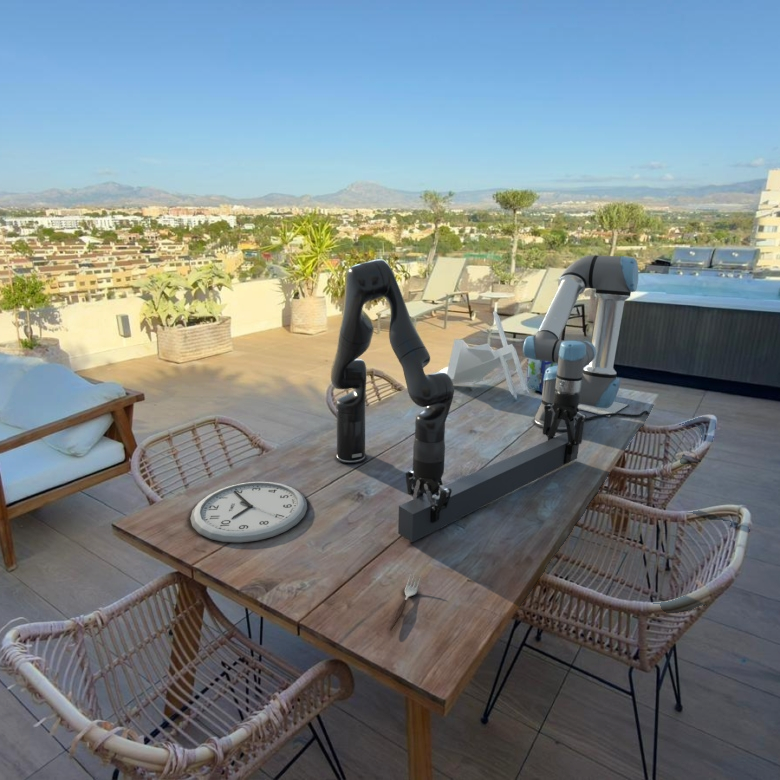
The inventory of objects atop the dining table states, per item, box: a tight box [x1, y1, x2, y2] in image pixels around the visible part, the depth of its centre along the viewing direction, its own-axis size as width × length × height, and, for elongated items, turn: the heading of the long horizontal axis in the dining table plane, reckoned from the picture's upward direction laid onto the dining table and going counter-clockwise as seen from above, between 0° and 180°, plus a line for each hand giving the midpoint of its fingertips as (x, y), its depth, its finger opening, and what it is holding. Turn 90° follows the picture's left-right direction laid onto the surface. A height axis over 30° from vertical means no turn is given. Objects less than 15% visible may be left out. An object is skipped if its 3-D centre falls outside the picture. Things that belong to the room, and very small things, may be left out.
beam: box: [397, 431, 580, 543], centre depth 149 cm, size 75×5×8 cm, turn 131°
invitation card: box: [578, 401, 629, 418], centre depth 226 cm, size 21×1×15 cm
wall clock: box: [190, 481, 308, 544], centre depth 139 cm, size 30×2×30 cm
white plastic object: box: [438, 310, 531, 400], centre depth 245 cm, size 37×45×31 cm
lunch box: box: [526, 358, 558, 394], centre depth 248 cm, size 26×11×21 cm, turn 135°
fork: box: [389, 573, 422, 632], centre depth 105 cm, size 3×16×2 cm, turn 160°
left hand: (426, 516), depth 130 cm, fingers closed on beam, 5 cm apart
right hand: (558, 459), depth 169 cm, fingers closed on beam, 5 cm apart
